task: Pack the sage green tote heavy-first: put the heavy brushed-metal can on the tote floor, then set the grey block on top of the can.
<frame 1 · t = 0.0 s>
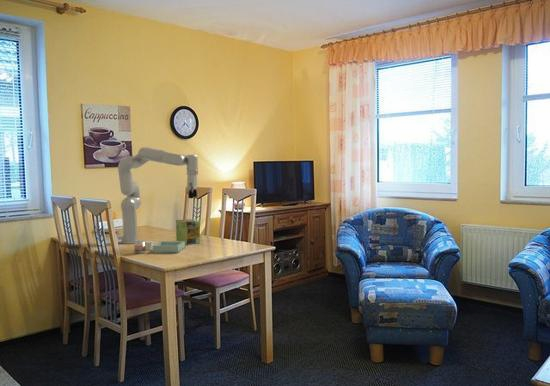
hand: (192, 197, 322), 31 cm above the table, tool pointing down, fingers open, 9 cm apart
protein box: (188, 242, 325), on the table
grey block: (148, 249, 302), on the table
metal can: (140, 253, 291), on the table
tote: (169, 250, 297), on the table
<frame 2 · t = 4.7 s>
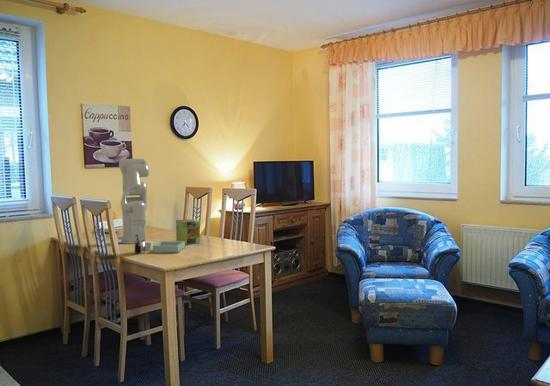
hand: (140, 251, 290), 1 cm above the table, tool pointing down, fingers closed on metal can, 6 cm apart
metal can: (140, 252, 290), on the table, touching gripper
everything else where it was.
when the fingers open (3 cm above the table, at t = 11.1 s): metal can drops 1 cm, resting on tote.
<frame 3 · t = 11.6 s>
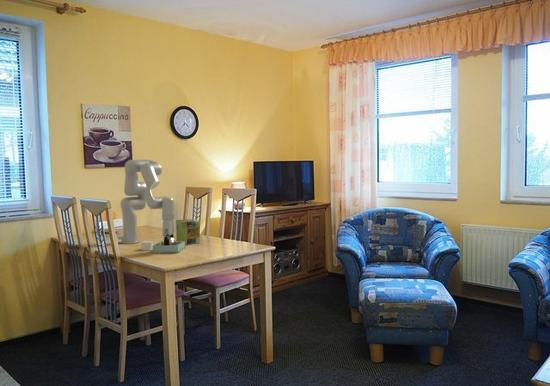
hand: (169, 244, 297), 4 cm above the table, tool pointing down, fingers open, 9 cm apart
metal can: (169, 248, 297), point 1 cm above the table, touching tote
everything else where it was.
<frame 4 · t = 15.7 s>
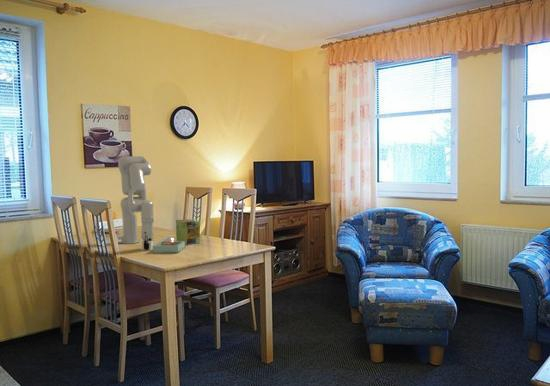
hand: (148, 248, 302), 1 cm above the table, tool pointing down, fingers closed on grey block, 6 cm apart
grey block: (147, 249, 302), on the table, touching gripper
everything else where it was.
when the fingers open (10 cm above the table, at t = 20.8 s): grey block drops 1 cm, resting on metal can.
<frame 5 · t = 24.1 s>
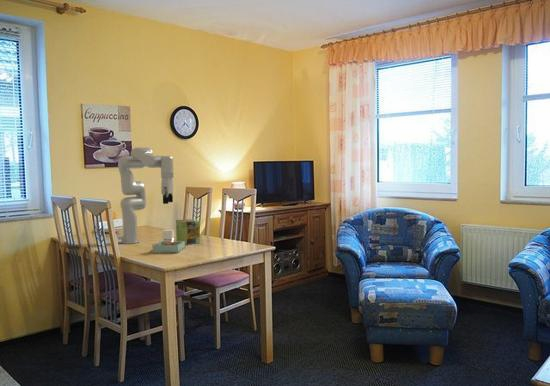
hand: (168, 202, 295), 30 cm above the table, tool pointing down, fingers open, 9 cm apart
grey block: (168, 238, 297), point 8 cm above the table, touching metal can
metal can: (169, 248, 298), point 1 cm above the table, touching grey block, tote
everything else where it was.
at the end: metal can inside the target area on the tote (0.3 cm from its centre), point 1.0 cm above the tote's base; grey block inside the target area on the tote (0.2 cm from its centre), point 8.0 cm above the tote's base; grey block tilted 0° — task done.
